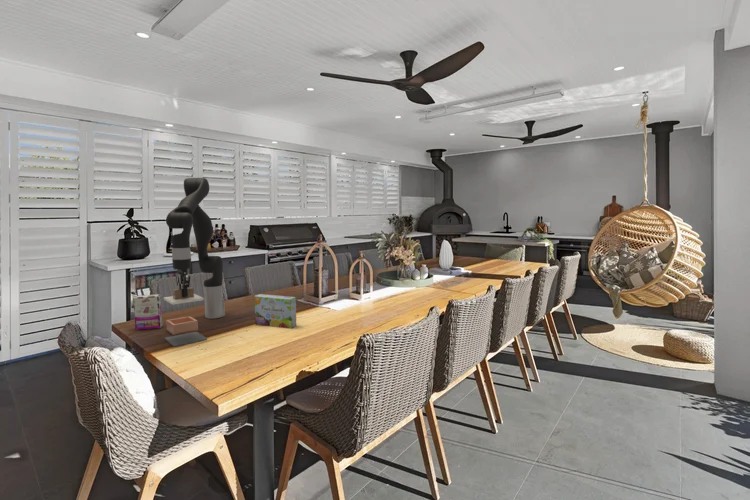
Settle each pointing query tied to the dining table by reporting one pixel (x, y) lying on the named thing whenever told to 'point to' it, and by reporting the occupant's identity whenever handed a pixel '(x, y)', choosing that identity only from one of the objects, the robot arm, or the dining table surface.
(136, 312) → the candy bar box
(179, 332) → the dish
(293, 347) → the dining table surface
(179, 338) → the mat
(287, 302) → the snack box
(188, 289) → the lid
